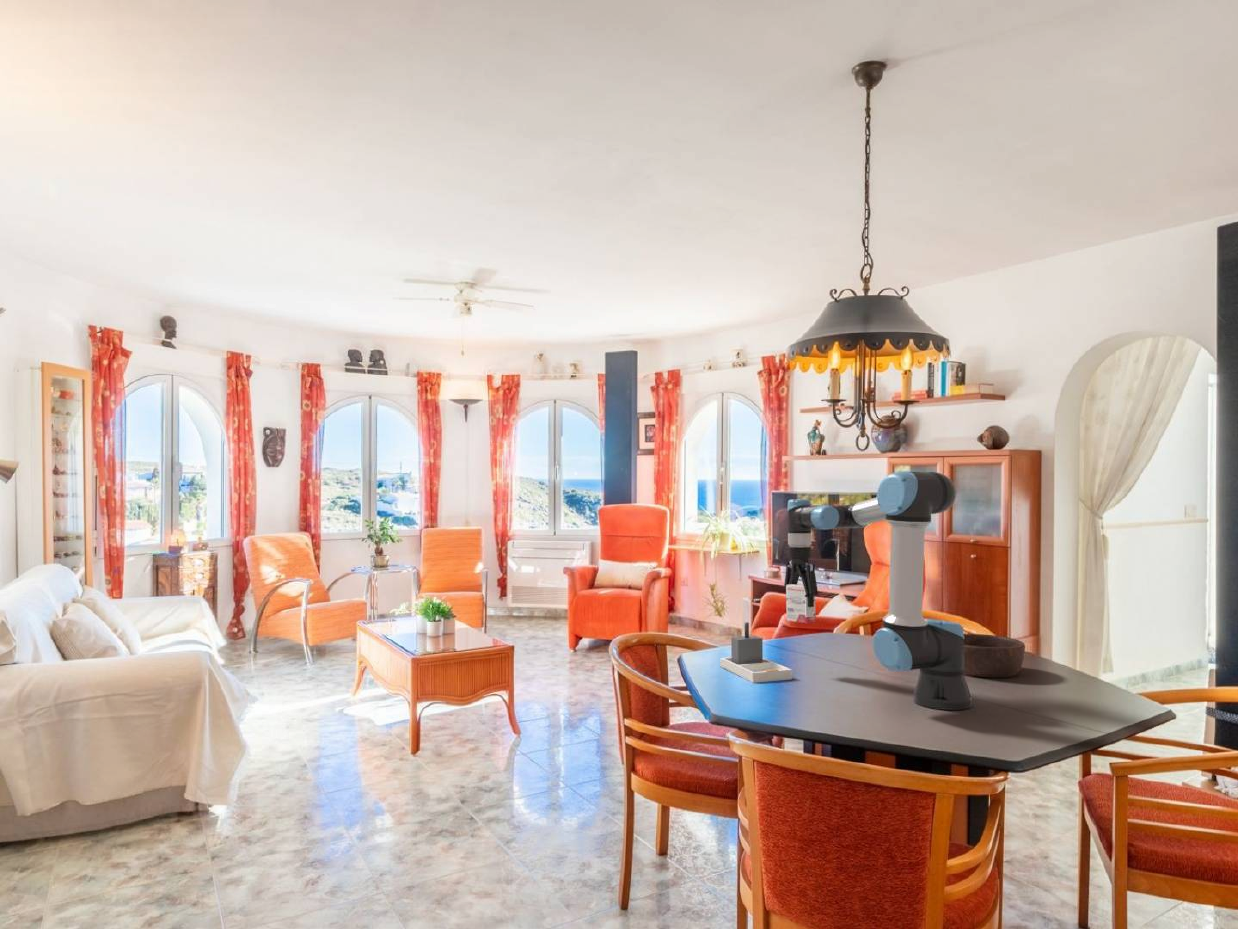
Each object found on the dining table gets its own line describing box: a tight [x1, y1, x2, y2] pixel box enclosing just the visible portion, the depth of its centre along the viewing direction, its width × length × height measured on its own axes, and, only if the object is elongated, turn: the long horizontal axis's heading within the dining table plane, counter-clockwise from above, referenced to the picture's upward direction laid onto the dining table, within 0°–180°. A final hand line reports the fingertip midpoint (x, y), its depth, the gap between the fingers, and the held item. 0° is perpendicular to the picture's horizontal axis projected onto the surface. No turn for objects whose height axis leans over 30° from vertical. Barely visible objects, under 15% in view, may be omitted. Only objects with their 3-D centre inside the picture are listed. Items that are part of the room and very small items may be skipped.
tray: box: [719, 656, 793, 683], centre depth 251 cm, size 23×14×3 cm, turn 18°
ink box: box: [785, 584, 817, 624], centre depth 251 cm, size 8×5×12 cm, turn 39°
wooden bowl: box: [964, 633, 1026, 679], centre depth 253 cm, size 25×25×10 cm
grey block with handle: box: [730, 621, 764, 665], centre depth 257 cm, size 5×9×15 cm, turn 108°
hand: (800, 614), depth 251 cm, fingers closed on ink box, 9 cm apart
